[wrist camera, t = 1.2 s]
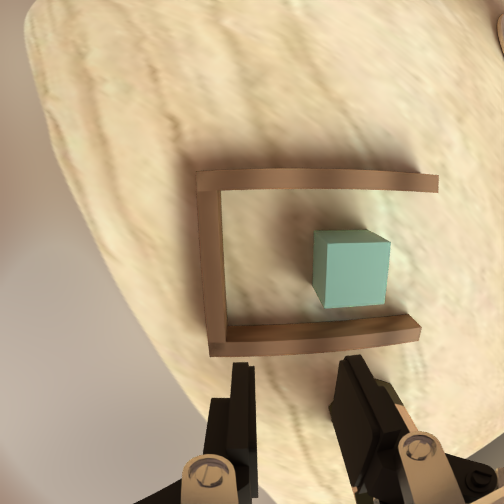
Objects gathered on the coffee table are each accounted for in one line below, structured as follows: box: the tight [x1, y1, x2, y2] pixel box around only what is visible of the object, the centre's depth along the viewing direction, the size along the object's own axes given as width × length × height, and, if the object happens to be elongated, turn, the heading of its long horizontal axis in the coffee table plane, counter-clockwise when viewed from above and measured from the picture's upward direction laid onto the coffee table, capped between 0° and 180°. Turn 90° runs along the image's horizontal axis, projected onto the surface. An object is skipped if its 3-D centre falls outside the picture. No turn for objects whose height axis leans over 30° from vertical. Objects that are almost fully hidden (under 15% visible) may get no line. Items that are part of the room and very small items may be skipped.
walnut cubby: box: [196, 168, 439, 357], centre depth 25 cm, size 20×16×3 cm
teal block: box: [312, 230, 391, 309], centre depth 25 cm, size 5×5×5 cm
